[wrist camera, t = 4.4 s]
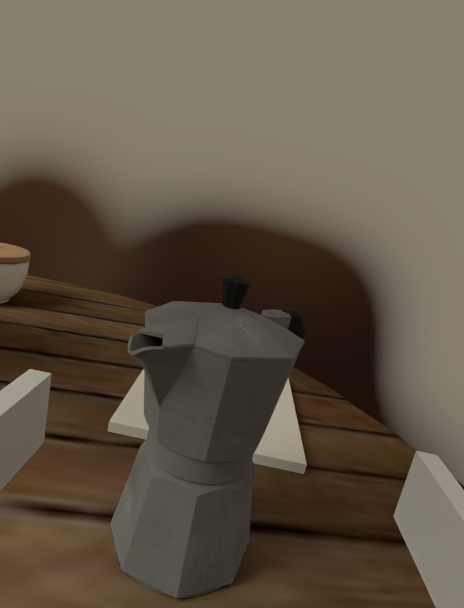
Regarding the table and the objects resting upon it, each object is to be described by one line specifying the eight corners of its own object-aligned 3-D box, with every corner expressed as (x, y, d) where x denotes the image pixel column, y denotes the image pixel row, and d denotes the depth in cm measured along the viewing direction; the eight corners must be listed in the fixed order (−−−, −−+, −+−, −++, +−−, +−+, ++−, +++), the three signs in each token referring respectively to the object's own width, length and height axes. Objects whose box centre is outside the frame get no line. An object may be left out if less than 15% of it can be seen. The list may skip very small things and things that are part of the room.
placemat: (107, 431, 37) (109, 421, 37) (156, 353, 57) (158, 346, 56) (303, 474, 37) (306, 464, 37) (286, 381, 57) (287, 375, 57)
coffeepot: (142, 666, 20) (219, 310, 16) (49, 537, 26) (87, 250, 21) (306, 522, 32) (376, 296, 27) (218, 456, 37) (264, 260, 33)
